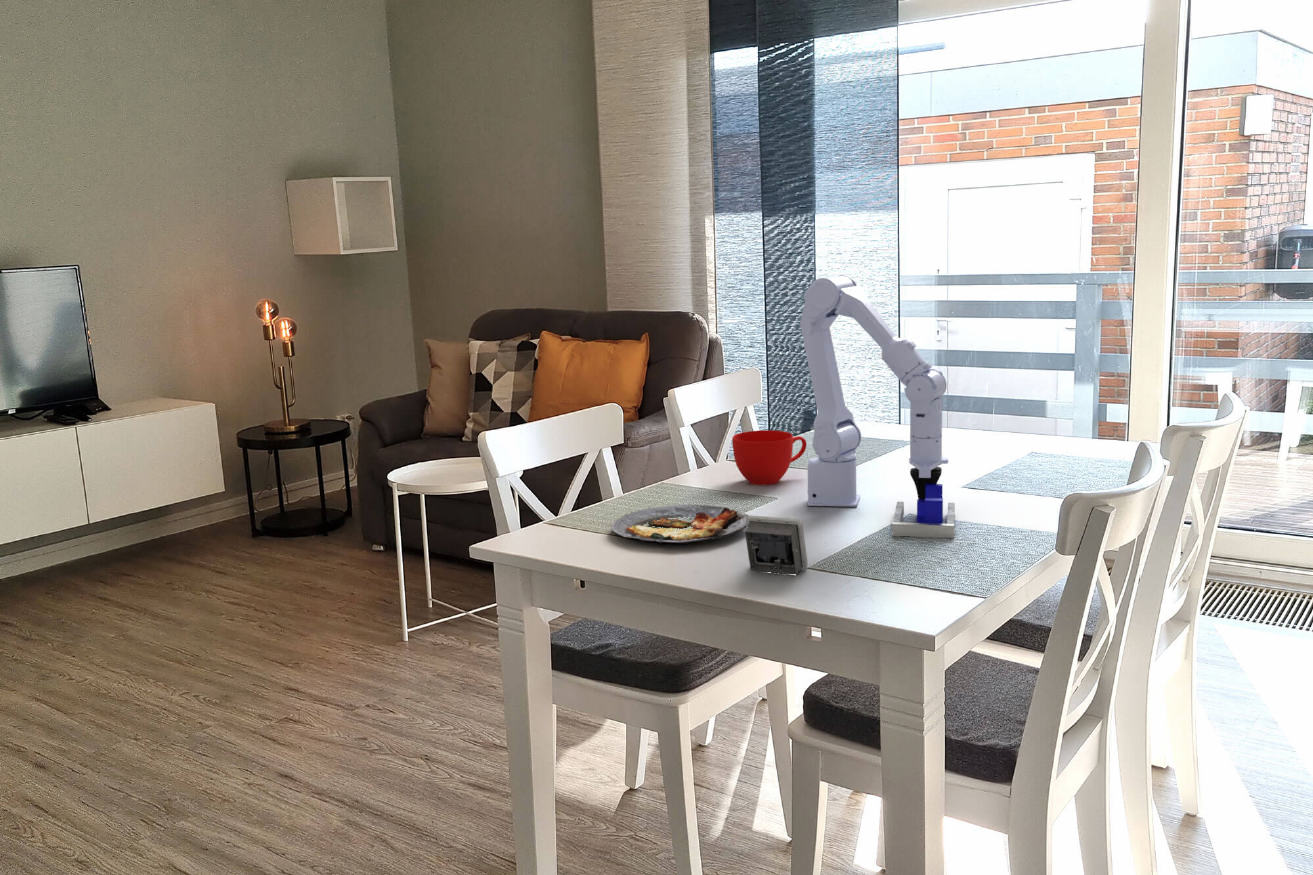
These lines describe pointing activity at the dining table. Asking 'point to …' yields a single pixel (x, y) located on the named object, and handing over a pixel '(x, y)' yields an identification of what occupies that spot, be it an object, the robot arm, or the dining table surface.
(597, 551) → the dining table surface
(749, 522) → the electrical switch
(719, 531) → the food plate
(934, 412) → the robot arm
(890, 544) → the dining table surface
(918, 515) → the blue stepped block
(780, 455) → the ceramic cup
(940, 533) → the rail bracket
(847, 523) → the dining table surface
